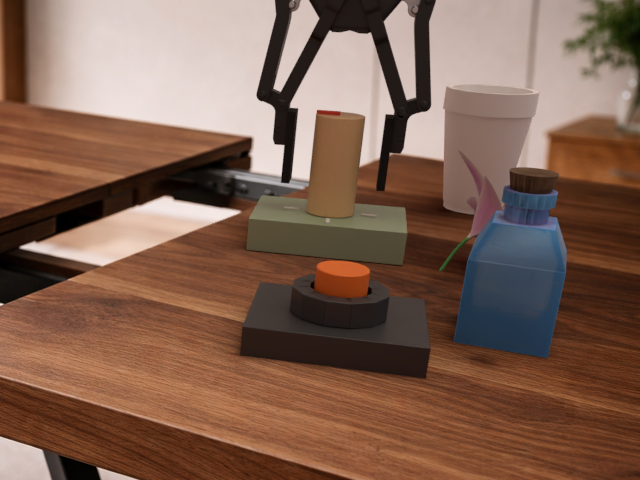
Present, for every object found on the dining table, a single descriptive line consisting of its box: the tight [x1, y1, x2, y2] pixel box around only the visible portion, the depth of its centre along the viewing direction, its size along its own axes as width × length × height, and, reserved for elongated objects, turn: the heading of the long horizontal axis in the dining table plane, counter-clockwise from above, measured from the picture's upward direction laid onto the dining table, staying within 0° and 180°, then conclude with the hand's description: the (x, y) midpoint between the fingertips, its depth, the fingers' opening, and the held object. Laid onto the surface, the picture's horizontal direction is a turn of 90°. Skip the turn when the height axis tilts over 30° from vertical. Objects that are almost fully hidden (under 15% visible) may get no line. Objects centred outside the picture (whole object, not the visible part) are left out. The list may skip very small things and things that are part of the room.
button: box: [314, 260, 371, 298], centre depth 65 cm, size 4×4×2 cm
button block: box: [239, 273, 432, 379], centre depth 66 cm, size 12×10×4 cm
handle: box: [306, 109, 366, 218], centre depth 88 cm, size 4×4×9 cm
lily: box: [438, 150, 505, 273], centre depth 82 cm, size 12×12×10 cm
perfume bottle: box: [453, 166, 568, 359], centre depth 67 cm, size 6×6×12 cm
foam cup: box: [442, 83, 540, 216], centre depth 104 cm, size 10×9×13 cm
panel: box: [245, 194, 408, 266], centre depth 90 cm, size 14×10×3 cm
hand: (332, 183), depth 89 cm, fingers open, 8 cm apart
